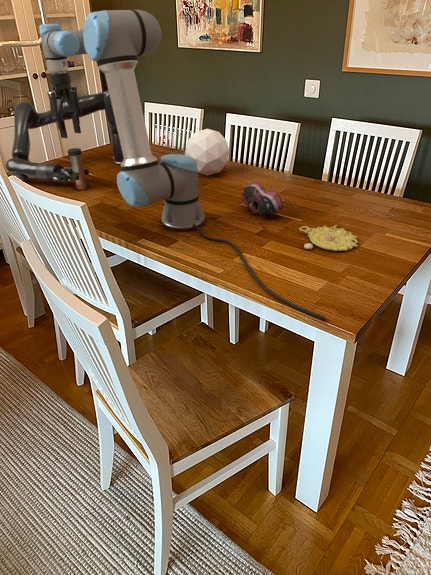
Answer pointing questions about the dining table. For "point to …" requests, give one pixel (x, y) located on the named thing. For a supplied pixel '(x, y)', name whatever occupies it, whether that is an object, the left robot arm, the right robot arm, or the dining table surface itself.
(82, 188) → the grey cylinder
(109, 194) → the dining table surface
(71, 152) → the lid
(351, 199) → the dining table surface
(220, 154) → the sphere
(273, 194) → the athletic shoe
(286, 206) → the dining table surface
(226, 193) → the dining table surface
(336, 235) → the decorative object
